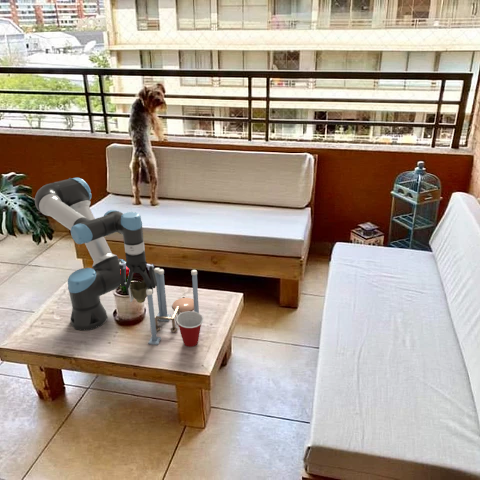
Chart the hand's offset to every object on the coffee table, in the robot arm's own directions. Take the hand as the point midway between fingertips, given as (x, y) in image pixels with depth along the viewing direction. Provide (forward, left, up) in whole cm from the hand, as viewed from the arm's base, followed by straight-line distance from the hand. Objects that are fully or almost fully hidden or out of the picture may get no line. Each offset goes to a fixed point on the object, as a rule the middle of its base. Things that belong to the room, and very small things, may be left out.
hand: (141, 300), depth 184 cm
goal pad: (+13, +19, -14) cm, 27 cm away
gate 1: (+7, 0, -14) cm, 16 cm away
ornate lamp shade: (0, 0, 0) cm, 0 cm away
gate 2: (+13, +9, -14) cm, 21 cm away
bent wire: (+9, +4, -14) cm, 17 cm away
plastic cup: (+22, -7, -14) cm, 27 cm away
